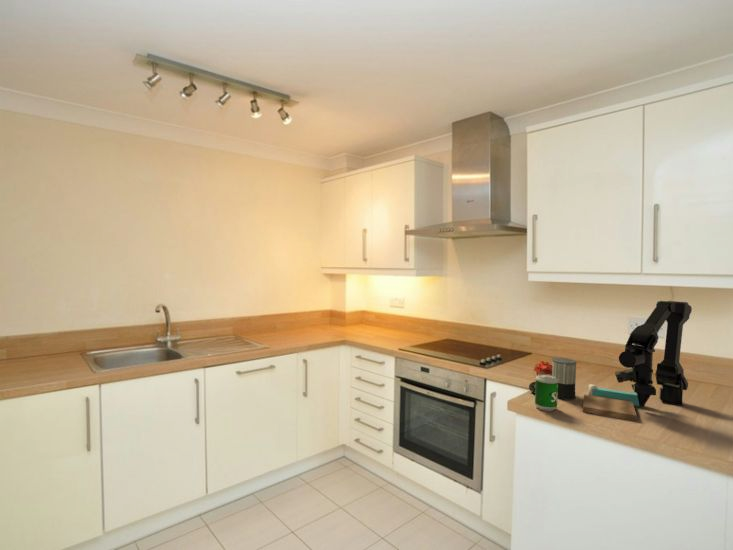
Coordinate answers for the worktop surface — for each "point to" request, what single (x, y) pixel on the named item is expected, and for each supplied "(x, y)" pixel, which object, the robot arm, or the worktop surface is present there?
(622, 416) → the flat wooden board
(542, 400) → the soda can
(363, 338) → the worktop surface
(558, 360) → the milk frother
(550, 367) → the dragon fruit
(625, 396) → the folding leg
